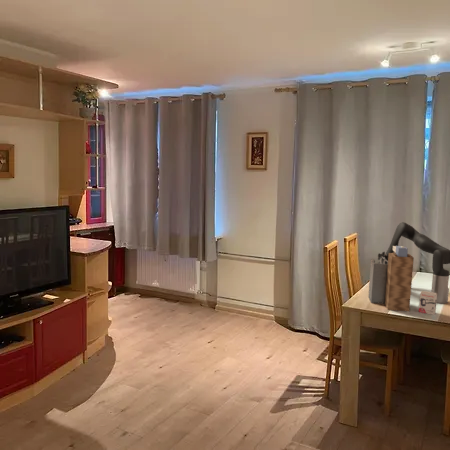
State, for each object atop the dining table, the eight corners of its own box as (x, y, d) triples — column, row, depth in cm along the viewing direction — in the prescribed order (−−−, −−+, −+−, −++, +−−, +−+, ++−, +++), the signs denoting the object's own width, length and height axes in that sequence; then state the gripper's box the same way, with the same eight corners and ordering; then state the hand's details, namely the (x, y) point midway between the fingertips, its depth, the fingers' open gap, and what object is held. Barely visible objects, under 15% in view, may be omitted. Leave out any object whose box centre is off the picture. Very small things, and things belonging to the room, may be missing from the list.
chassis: (384, 297, 301) (386, 259, 298) (387, 304, 287) (390, 264, 283) (367, 296, 303) (370, 258, 300) (371, 302, 288) (373, 263, 285)
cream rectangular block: (399, 250, 292) (400, 241, 291) (407, 257, 270) (407, 247, 269) (391, 249, 292) (392, 240, 292) (398, 256, 271) (398, 246, 270)
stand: (405, 305, 284) (409, 252, 280) (409, 311, 273) (413, 255, 269) (384, 304, 286) (388, 251, 282) (387, 309, 275) (392, 254, 271)
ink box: (418, 312, 273) (420, 292, 271) (420, 309, 277) (421, 290, 275) (434, 314, 268) (435, 294, 267) (435, 312, 272) (437, 293, 271)
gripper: (375, 255, 322) (379, 247, 307) (397, 256, 319) (402, 248, 304) (375, 266, 319) (379, 258, 304) (397, 267, 316) (402, 259, 302)
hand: (391, 253), depth 304 cm, fingers open, 8 cm apart
